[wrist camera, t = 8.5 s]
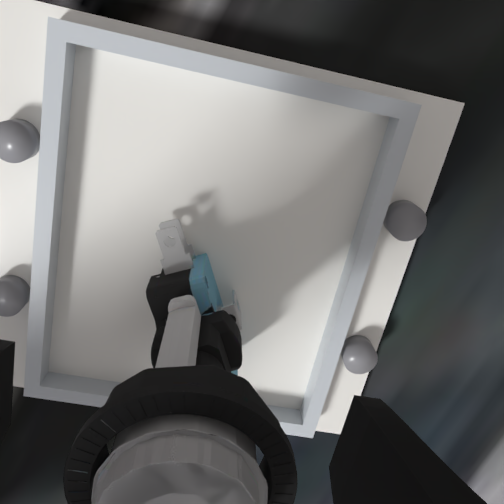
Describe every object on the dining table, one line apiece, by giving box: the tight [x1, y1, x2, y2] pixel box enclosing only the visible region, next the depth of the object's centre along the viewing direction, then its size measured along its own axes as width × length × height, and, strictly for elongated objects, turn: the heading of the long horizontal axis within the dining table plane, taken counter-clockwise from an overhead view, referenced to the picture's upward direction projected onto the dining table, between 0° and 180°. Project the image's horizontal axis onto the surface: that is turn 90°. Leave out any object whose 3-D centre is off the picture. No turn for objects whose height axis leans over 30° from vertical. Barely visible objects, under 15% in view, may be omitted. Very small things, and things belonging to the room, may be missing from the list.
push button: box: [63, 218, 297, 504], centre depth 14 cm, size 7×5×10 cm
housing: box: [0, 0, 465, 438], centre depth 18 cm, size 16×15×2 cm
